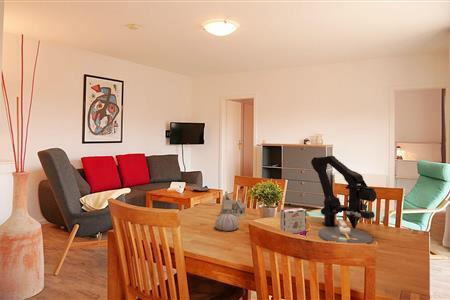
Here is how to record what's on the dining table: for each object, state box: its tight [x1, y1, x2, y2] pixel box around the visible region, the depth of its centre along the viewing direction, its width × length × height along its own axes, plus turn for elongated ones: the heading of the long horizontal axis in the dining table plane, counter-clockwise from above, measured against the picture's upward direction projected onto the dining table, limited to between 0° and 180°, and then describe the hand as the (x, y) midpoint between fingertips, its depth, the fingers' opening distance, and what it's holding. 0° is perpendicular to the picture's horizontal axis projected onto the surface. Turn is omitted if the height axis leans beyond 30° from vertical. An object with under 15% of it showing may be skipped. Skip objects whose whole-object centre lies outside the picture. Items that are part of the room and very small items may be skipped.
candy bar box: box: [279, 207, 307, 237], centre depth 143 cm, size 11×5×16 cm, turn 105°
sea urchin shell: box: [214, 213, 240, 232], centre depth 168 cm, size 13×14×8 cm
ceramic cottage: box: [219, 190, 246, 219], centre depth 194 cm, size 16×16×15 cm
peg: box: [337, 218, 351, 240], centre depth 155 cm, size 22×5×4 cm, turn 169°
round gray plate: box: [318, 226, 373, 245], centre depth 154 cm, size 25×25×2 cm
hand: (354, 228), depth 161 cm, fingers closed
